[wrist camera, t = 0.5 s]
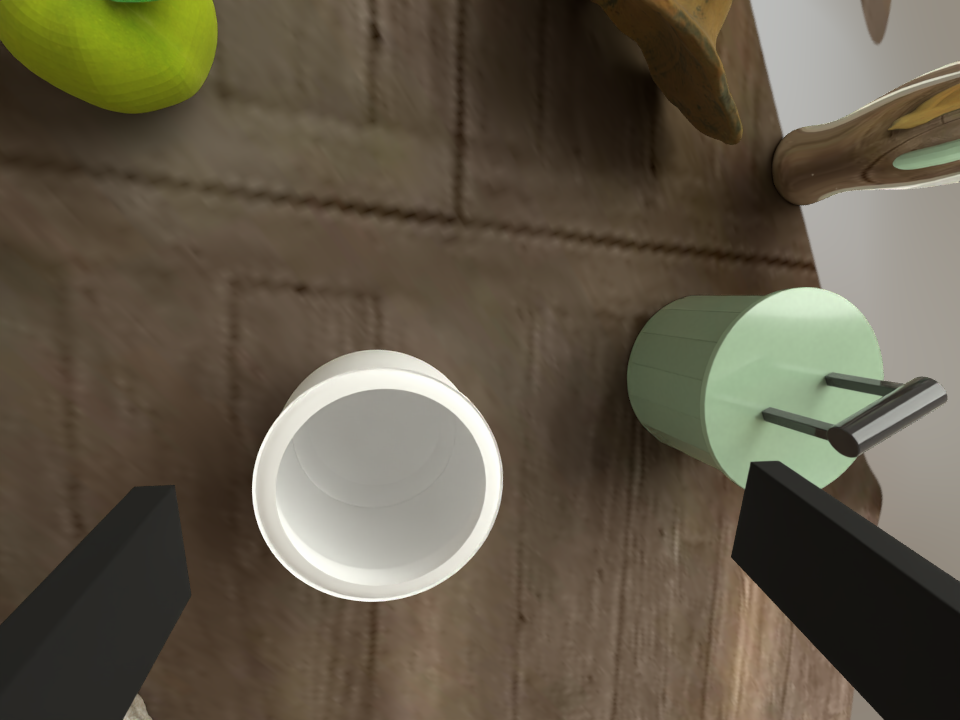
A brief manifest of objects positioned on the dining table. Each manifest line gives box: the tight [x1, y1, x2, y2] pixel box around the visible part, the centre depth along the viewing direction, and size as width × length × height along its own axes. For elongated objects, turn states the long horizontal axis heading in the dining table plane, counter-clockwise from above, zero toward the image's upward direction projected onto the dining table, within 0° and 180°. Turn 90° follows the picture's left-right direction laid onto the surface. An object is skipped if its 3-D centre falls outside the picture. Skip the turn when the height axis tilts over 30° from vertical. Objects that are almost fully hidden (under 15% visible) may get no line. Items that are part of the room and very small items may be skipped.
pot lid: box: [700, 287, 947, 490], centre depth 29 cm, size 14×14×8 cm
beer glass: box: [772, 60, 960, 205], centre depth 34 cm, size 7×7×15 cm
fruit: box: [0, 0, 218, 114], centre depth 25 cm, size 9×9×10 cm
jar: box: [252, 350, 503, 602], centre depth 29 cm, size 11×10×15 cm
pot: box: [627, 295, 766, 471], centre depth 37 cm, size 13×13×10 cm
